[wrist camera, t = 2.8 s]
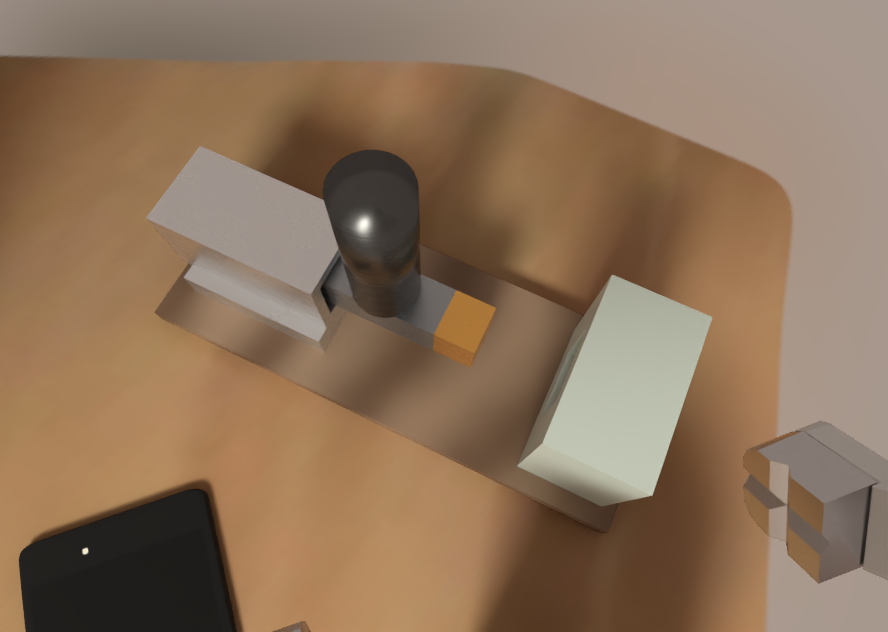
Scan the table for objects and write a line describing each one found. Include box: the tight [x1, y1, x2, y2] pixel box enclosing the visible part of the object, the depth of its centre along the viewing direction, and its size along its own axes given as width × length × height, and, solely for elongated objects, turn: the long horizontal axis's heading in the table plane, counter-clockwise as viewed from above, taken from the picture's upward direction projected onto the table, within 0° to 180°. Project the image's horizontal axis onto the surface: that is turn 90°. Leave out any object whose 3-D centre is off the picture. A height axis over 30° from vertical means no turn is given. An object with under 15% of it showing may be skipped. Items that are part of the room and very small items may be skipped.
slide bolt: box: [320, 150, 496, 368], centre depth 25 cm, size 15×3×10 cm, turn 65°
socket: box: [517, 275, 712, 507], centre depth 28 cm, size 4×8×7 cm, turn 155°
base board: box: [155, 244, 618, 533], centre depth 33 cm, size 26×10×1 cm, turn 65°
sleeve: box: [146, 146, 348, 352], centre depth 31 cm, size 9×6×6 cm
